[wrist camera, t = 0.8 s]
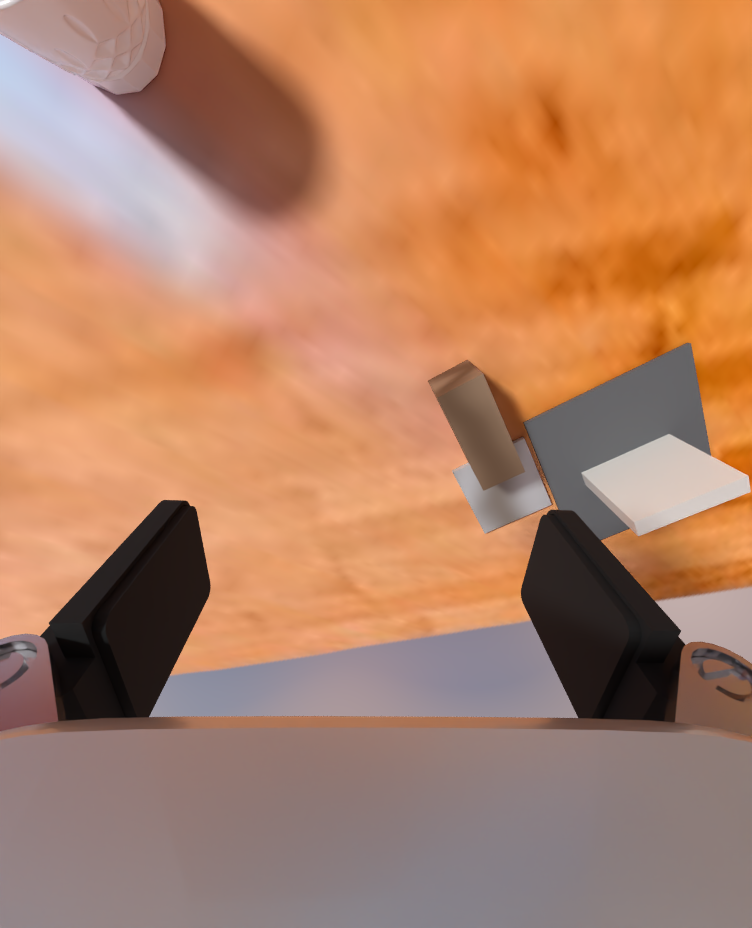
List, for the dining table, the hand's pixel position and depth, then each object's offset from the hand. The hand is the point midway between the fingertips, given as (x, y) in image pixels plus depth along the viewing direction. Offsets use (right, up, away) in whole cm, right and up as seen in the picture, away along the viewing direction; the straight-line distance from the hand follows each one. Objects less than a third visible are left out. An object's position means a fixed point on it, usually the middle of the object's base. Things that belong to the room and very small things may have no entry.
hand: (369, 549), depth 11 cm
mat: (+23, +3, +25) cm, 34 cm away
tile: (+23, +3, +25) cm, 34 cm away
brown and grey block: (+10, +4, +25) cm, 27 cm away
